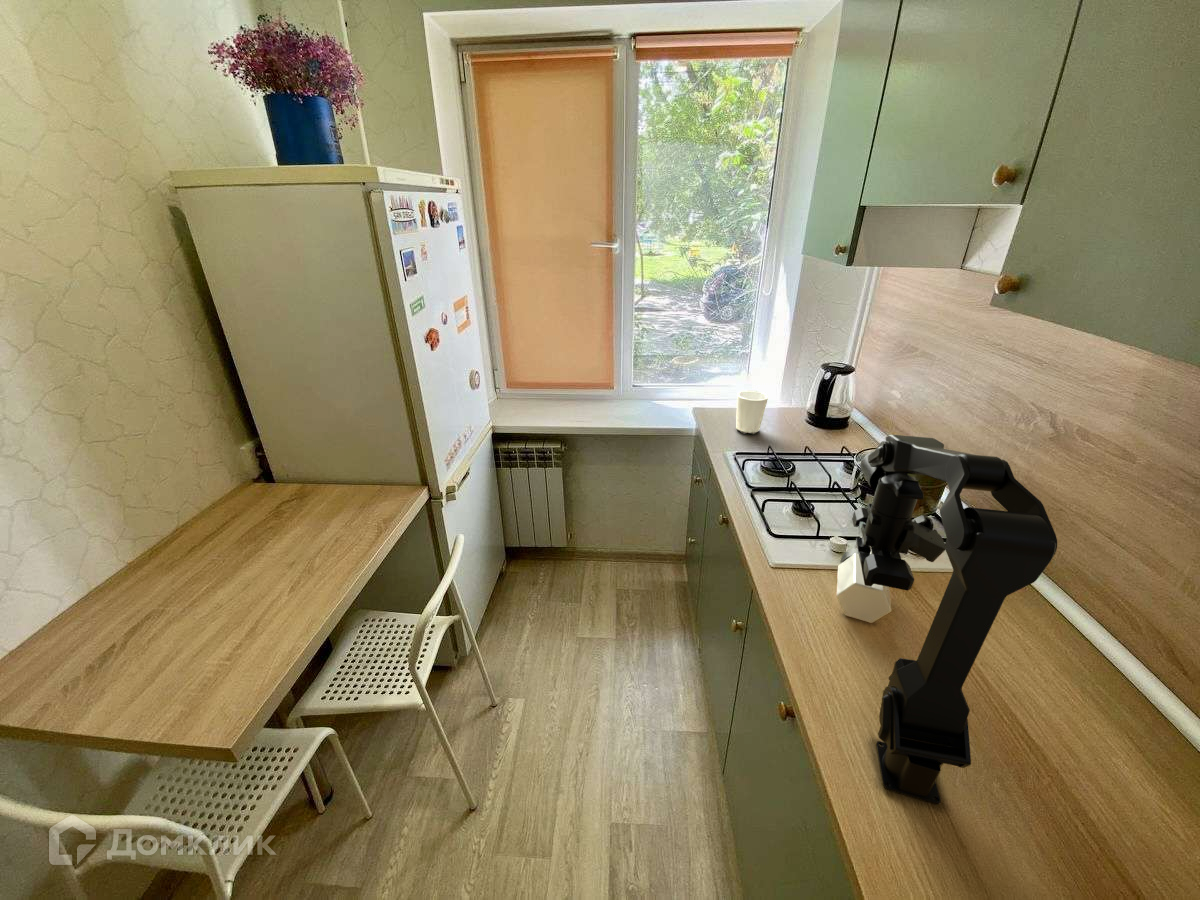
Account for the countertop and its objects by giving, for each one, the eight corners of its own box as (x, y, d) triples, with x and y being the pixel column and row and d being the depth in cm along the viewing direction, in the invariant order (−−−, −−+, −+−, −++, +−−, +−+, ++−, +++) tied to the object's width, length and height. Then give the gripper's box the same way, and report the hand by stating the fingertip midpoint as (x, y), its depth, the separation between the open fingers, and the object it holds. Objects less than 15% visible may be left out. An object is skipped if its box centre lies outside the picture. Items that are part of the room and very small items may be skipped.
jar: (880, 580, 85) (878, 541, 95) (831, 586, 89) (833, 548, 99) (897, 621, 87) (893, 579, 96) (848, 625, 91) (849, 584, 101)
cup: (731, 424, 172) (735, 389, 166) (759, 425, 170) (765, 391, 165) (734, 435, 163) (739, 399, 157) (764, 437, 162) (770, 401, 156)
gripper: (969, 553, 68) (934, 635, 75) (933, 489, 84) (908, 561, 91) (880, 538, 71) (855, 618, 78) (862, 478, 87) (842, 549, 94)
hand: (867, 584), depth 85 cm, fingers closed
